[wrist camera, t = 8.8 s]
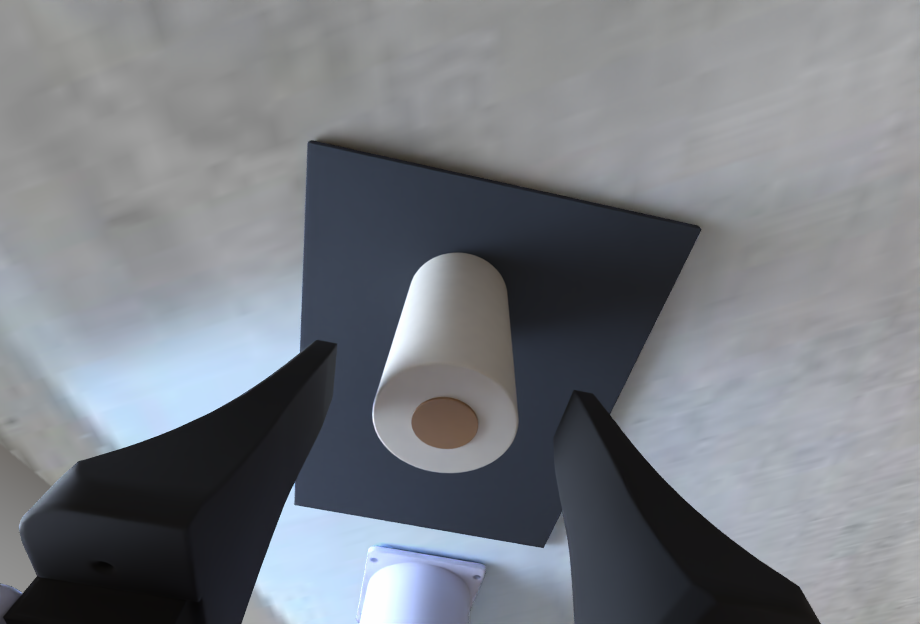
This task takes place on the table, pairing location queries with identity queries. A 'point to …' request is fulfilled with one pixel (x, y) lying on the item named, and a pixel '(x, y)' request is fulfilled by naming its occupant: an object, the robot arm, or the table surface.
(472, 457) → the paper roll
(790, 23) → the table surface
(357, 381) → the desk mat
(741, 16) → the table surface
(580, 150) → the table surface
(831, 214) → the table surface
